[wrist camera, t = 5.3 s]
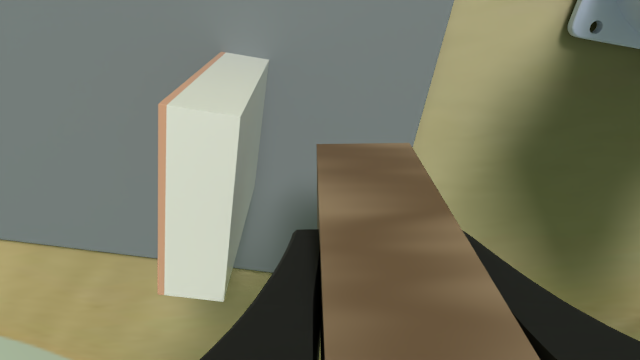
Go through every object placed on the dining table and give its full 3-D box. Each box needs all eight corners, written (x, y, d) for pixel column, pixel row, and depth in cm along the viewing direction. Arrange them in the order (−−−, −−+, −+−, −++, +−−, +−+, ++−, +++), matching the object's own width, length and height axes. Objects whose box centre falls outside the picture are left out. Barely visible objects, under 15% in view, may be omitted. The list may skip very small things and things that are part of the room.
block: (409, 142, 14) (556, 386, 5) (401, 222, 15) (512, 515, 7) (316, 143, 14) (326, 391, 5) (317, 223, 15) (325, 520, 7)
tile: (269, 59, 18) (240, 116, 10) (254, 186, 20) (223, 302, 13) (221, 51, 17) (157, 103, 10) (212, 180, 20) (157, 294, 13)
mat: (462, -42, 16) (465, -42, 16) (372, 280, 23) (373, 284, 23) (-146, -162, 14) (-158, -166, 14) (-50, 227, 21) (-57, 232, 21)
